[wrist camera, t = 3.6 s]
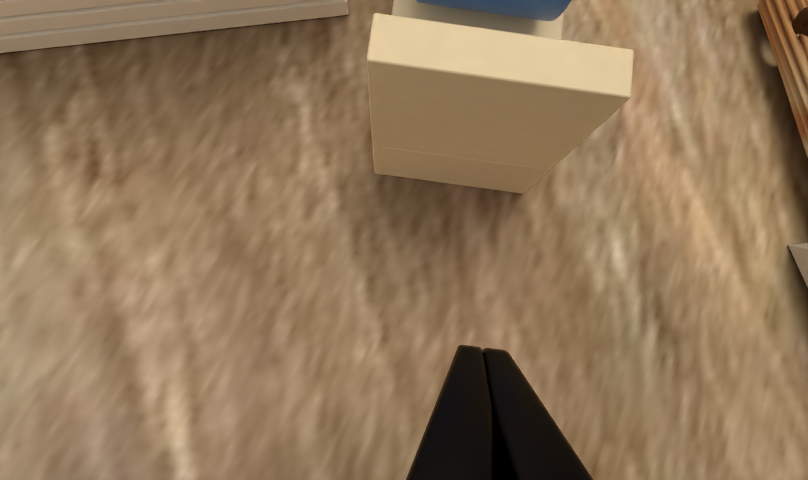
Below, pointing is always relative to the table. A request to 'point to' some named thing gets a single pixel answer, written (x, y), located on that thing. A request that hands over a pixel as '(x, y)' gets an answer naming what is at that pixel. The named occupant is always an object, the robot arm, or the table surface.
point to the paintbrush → (791, 73)
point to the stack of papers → (141, 18)
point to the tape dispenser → (485, 90)
